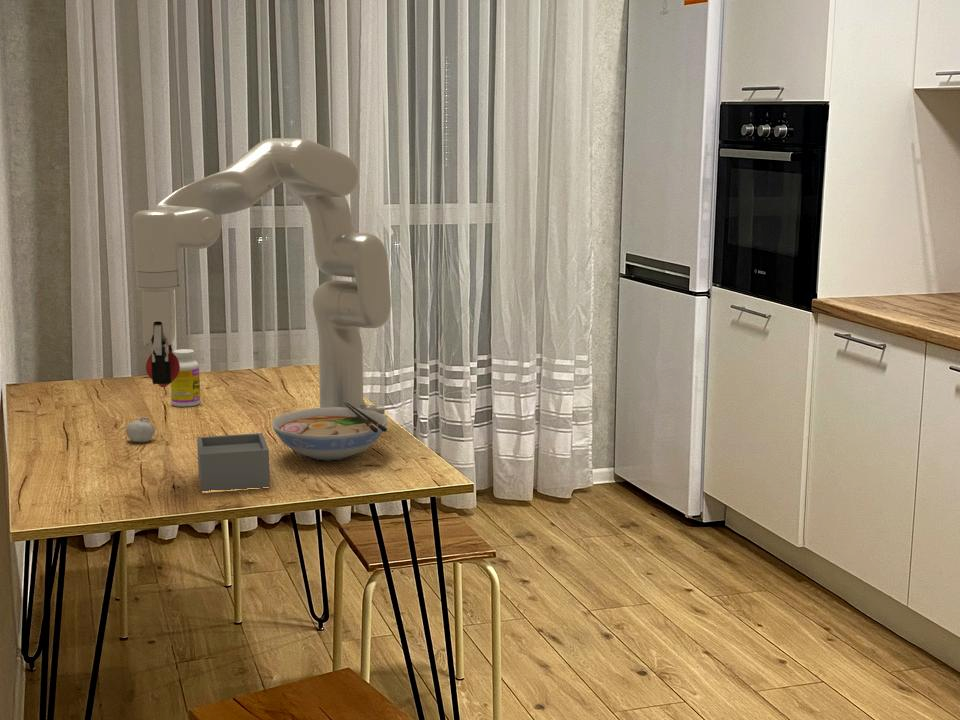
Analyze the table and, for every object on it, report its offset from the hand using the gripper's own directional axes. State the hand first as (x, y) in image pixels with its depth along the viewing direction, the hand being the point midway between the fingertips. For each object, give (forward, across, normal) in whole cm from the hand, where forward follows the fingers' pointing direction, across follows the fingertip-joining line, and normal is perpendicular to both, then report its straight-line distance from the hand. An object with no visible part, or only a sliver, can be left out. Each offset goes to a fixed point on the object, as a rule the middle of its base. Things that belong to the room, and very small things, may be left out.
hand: (163, 378), depth 203 cm
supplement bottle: (+20, -61, -1) cm, 64 cm away
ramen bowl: (+20, -11, +30) cm, 38 cm away
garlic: (+20, -29, -8) cm, 36 cm away
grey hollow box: (+20, +2, +12) cm, 23 cm away
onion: (+2, 0, 0) cm, 2 cm away
